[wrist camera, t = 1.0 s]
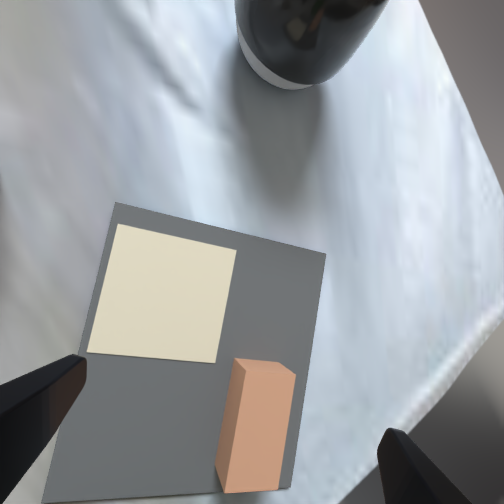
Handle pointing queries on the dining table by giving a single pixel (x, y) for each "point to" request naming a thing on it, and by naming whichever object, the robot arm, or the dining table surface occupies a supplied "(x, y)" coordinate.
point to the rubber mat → (178, 353)
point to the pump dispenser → (303, 37)
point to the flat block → (254, 426)
